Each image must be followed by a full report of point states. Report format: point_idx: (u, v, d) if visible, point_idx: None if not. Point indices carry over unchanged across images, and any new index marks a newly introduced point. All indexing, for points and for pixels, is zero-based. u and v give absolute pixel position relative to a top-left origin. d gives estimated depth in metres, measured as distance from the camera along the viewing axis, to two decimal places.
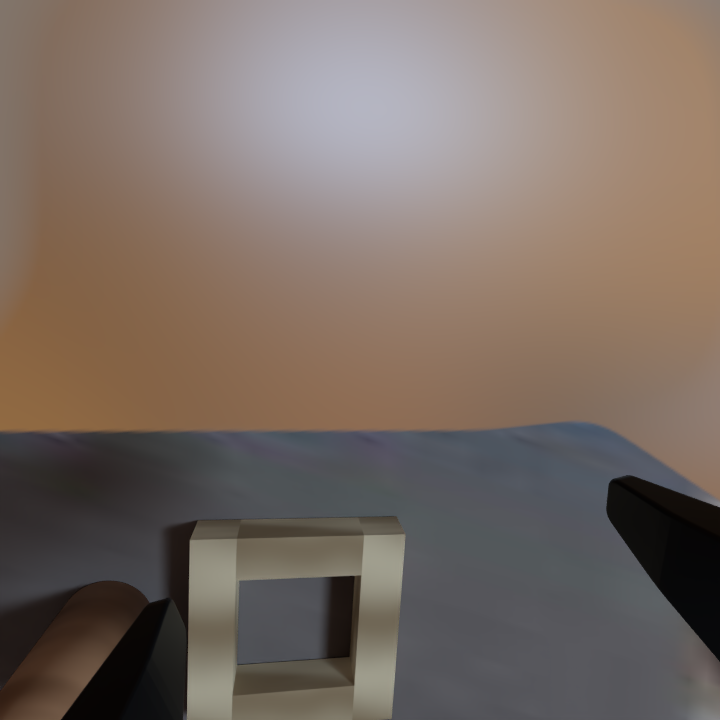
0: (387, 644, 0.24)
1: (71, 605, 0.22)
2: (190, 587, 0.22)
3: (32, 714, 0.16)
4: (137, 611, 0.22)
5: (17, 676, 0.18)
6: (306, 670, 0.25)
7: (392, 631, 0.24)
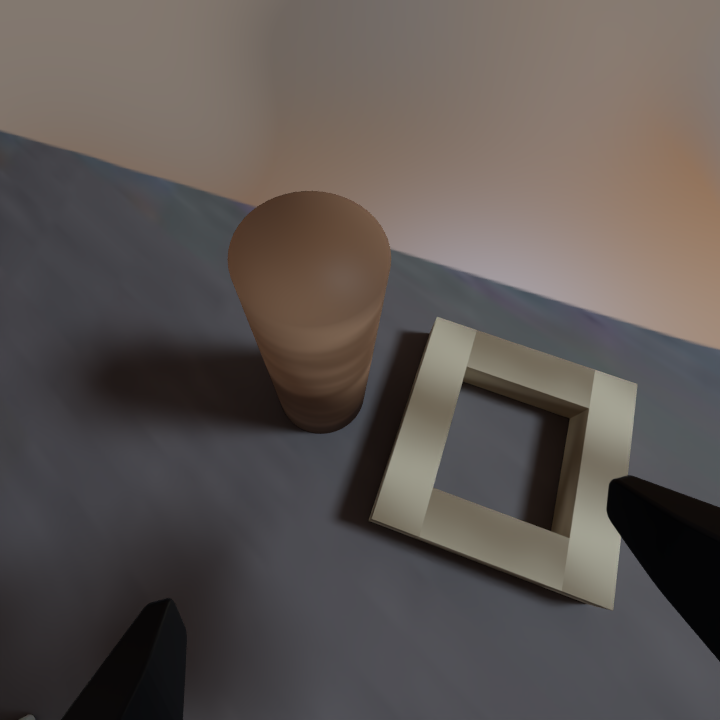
0: None
1: None
2: (425, 356, 0.23)
3: None
4: None
5: None
6: None
7: None
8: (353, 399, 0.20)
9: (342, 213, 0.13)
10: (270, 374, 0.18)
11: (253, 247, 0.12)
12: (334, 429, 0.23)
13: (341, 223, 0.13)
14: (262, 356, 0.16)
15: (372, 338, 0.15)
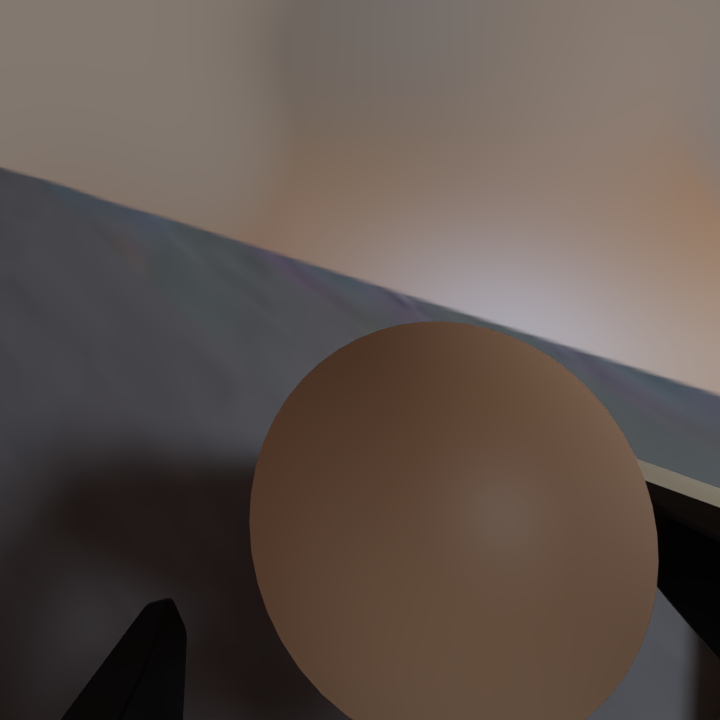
0: None
1: None
2: None
3: None
4: None
5: None
6: None
7: None
8: None
9: (513, 378, 0.06)
10: None
11: (312, 482, 0.05)
12: None
13: (516, 407, 0.05)
14: None
15: None
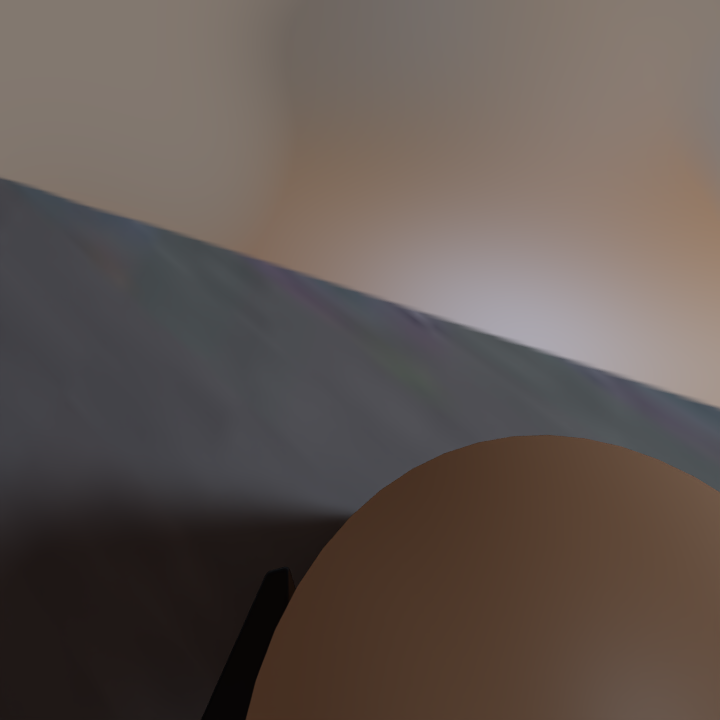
0: None
1: None
2: None
3: None
4: None
5: None
6: None
7: None
8: None
9: (675, 540, 0.03)
10: None
11: None
12: None
13: (688, 597, 0.03)
14: None
15: None
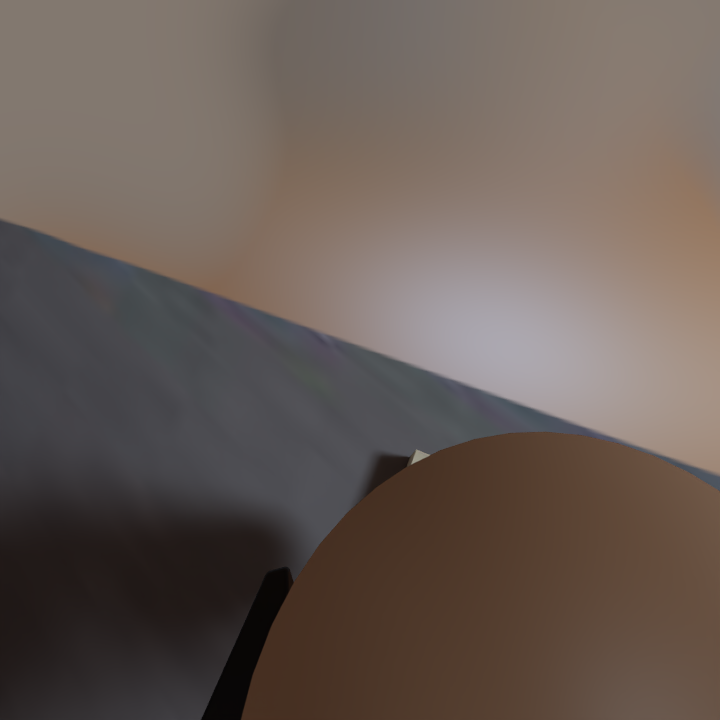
0: None
1: None
2: None
3: None
4: None
5: None
6: None
7: None
8: None
9: (670, 536, 0.03)
10: None
11: None
12: None
13: (683, 593, 0.03)
14: None
15: None
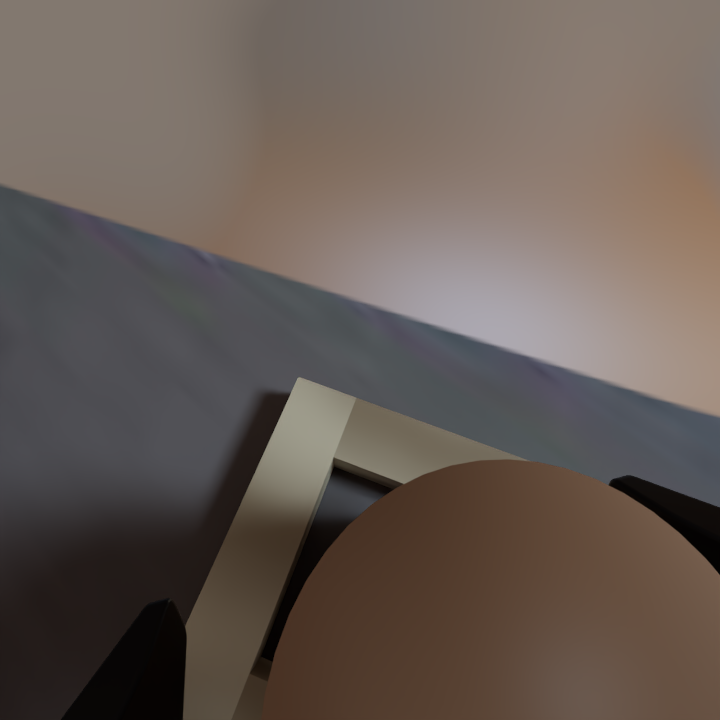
0: None
1: None
2: (271, 441, 0.15)
3: None
4: None
5: None
6: None
7: None
8: None
9: (604, 544, 0.04)
10: None
11: (343, 717, 0.04)
12: None
13: (612, 589, 0.04)
14: None
15: None
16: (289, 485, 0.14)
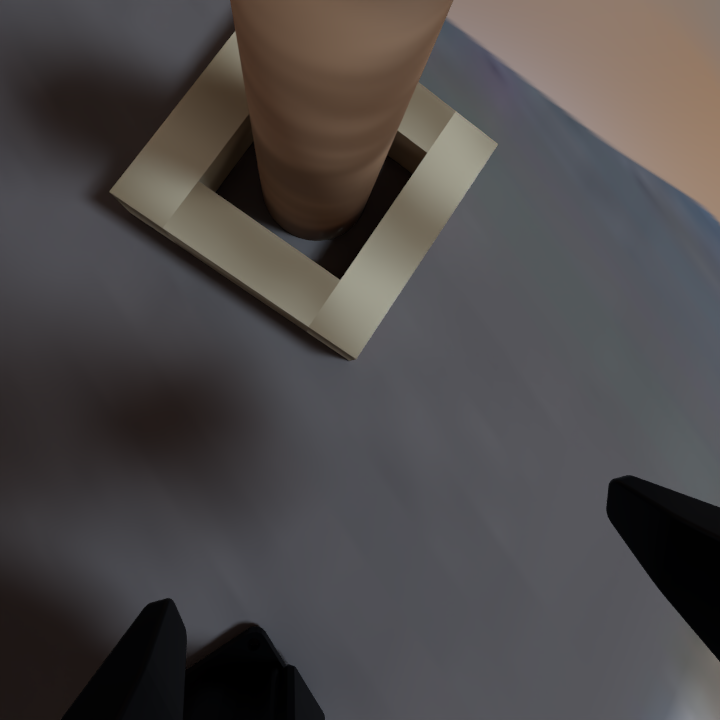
0: (406, 256, 0.18)
1: None
2: None
3: None
4: None
5: None
6: None
7: (421, 245, 0.18)
8: (352, 197, 0.15)
9: None
10: (252, 123, 0.13)
11: None
12: (319, 237, 0.19)
13: None
14: (244, 83, 0.11)
15: (407, 90, 0.10)
16: None
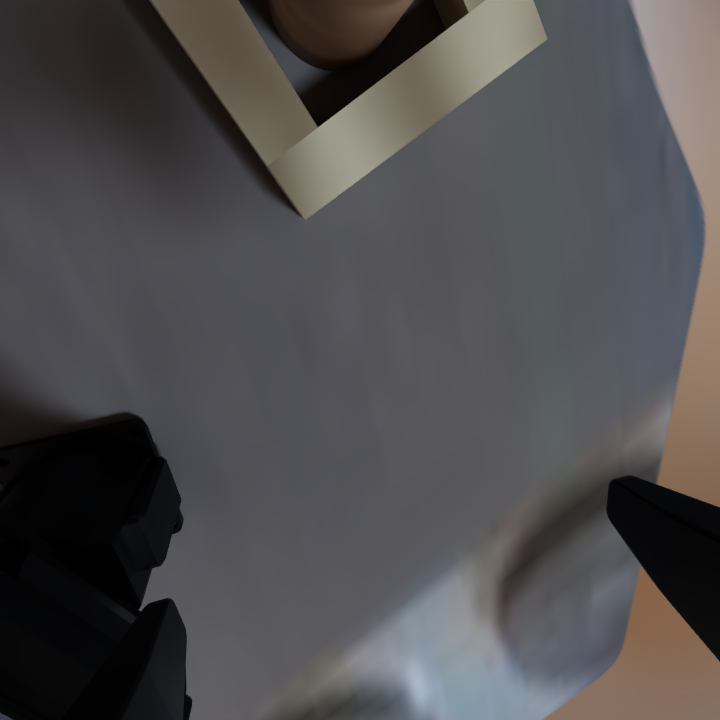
0: (396, 131, 0.16)
1: None
2: None
3: None
4: None
5: None
6: None
7: (416, 125, 0.16)
8: (360, 35, 0.13)
9: None
10: None
11: None
12: (315, 63, 0.16)
13: None
14: None
15: None
16: None
